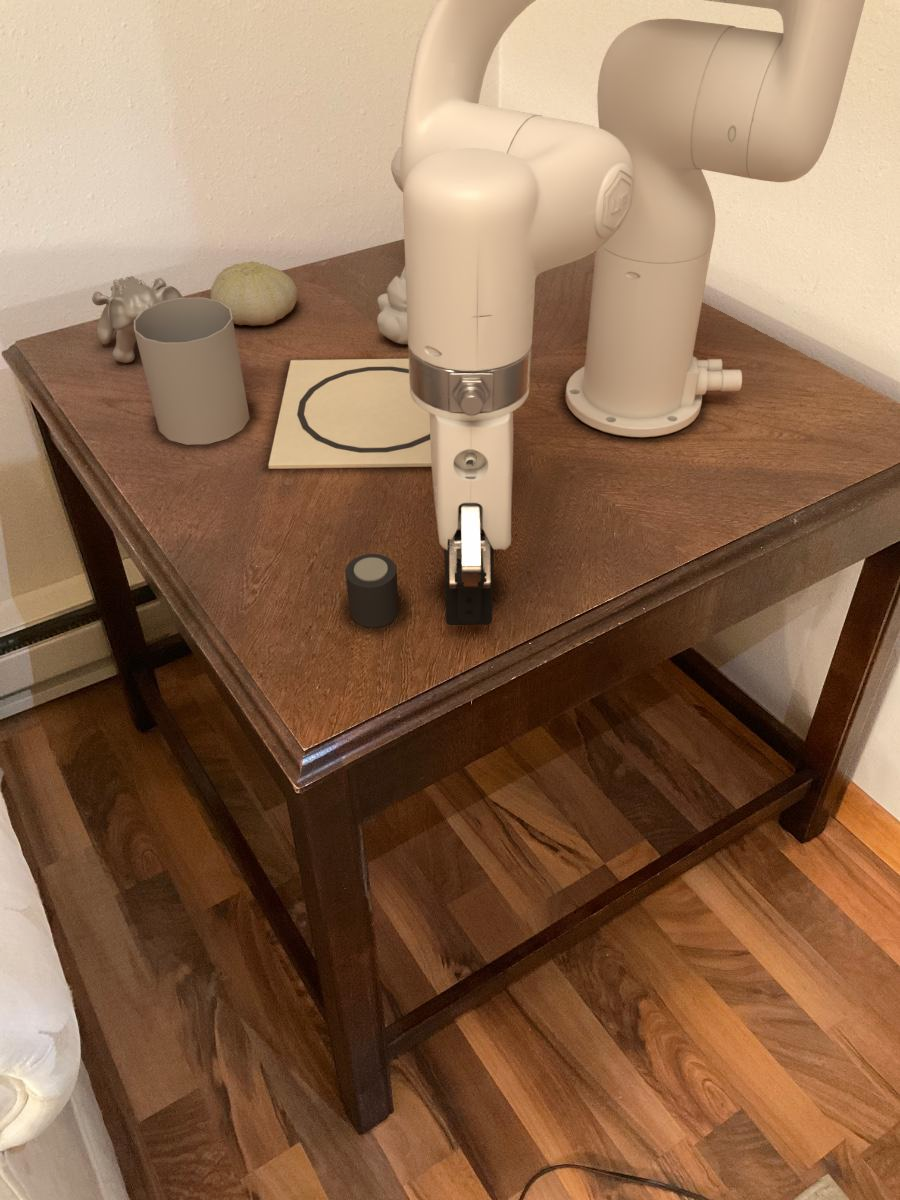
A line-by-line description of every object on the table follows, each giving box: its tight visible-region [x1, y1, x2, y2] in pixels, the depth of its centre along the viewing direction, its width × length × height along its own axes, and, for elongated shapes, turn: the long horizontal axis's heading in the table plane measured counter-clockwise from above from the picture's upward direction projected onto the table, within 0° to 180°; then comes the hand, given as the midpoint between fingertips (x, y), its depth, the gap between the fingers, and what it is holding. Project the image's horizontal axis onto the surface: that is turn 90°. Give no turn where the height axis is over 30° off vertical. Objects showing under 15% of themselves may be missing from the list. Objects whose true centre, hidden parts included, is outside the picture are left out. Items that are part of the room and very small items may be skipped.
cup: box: [134, 296, 251, 446], centre depth 88 cm, size 8×8×10 cm
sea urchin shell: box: [209, 260, 298, 327], centre depth 105 cm, size 9×8×8 cm
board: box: [268, 358, 432, 470], centre depth 92 cm, size 18×18×1 cm
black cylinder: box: [443, 536, 495, 595], centre depth 72 cm, size 4×4×4 cm
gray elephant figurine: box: [91, 275, 184, 364], centre depth 98 cm, size 9×12×8 cm
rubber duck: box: [376, 266, 408, 345], centre depth 100 cm, size 5×7×8 cm
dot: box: [345, 553, 400, 629], centre depth 71 cm, size 4×4×4 cm
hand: (467, 576), depth 73 cm, fingers open, 9 cm apart
